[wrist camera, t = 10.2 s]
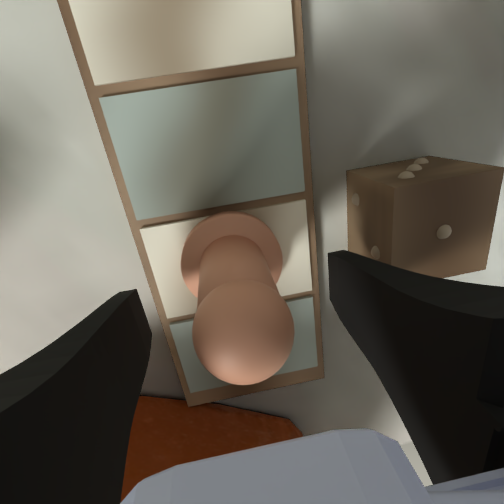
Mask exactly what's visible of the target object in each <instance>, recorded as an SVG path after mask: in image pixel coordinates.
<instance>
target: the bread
mask: <svg viewBox="0 0 504 504" xmlns="http://www.w3.org/2000/svg"><path fill="white" fill-rule="evenodd" d="M300 437H304V436H303V434H302V432H301V431H300V430H299V429H298V428H297V427H296V426H295V425H294V424H293V423H292V422H291V421H290V420H289V419H285V418H281V417H276V416H271V415H267V414H262V413H258V412H253V411H248V410H244V409H239V408H234V407H230V406H225V405H220V404H212V403H204V404H200V405H195V406H190V407H188V404H187V401H185V400H175V399H166V398H157V397H148V396H139V399H138V403H137V406H136V410H135V414H134V418H133V422H132V427H131V432H130V438H129V445H128V451H127V457H126V464H125V472H124V479H123V487H122V494H121V502H122V501H123V500H124V499H125V497H126V496H127V495H128V494H129V493H130V492H131V490H132V489H133V488H134V487H135V486H136V485H137V483H139V482H140V481H142V480H143V479H145V478H147V477H149V476H152V475H154V474H157V473H159V472H161V471H164V470H166V469H168V468H171V467H173V466H176V465H180V464H184V463H189V462H193V461H197V460H202V459H206V458H211V457H215V456H220V455H224V454H229V453H233V452H237V451H242V450H246V449H251V448H255V447H260V446H264V445H268V444H273V443H277V442H282V441H286V440H291V439H295V438H300Z"/></svg>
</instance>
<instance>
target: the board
mask: <svg viewBox="0 0 504 504" xmlns="http://www.w3.org/2000/svg"><path fill="white" fill-rule="evenodd" d="M57 2H58V5H59V8H60V11H61V14H62V17H63V21H64V24H65V27H66V30H67V33H68V36H69V39H70V42H71V45H72V48H73V52H74V55H75V58H76V61H77V64H78V67H79V70H80V73H81V76H82V79H83V82H84V86H85V89H86V92H87V95H88V98H89V101H90V104H91V107H92V110H93V113H94V117H95V120H96V123H97V126H98V129H99V132H100V135H101V138H102V141H103V144H104V147H105V151H106V154H107V157H108V160H109V163H110V166H111V169H112V172H113V175H114V178H115V181H116V185H117V188H118V191H119V194H120V197H121V200H122V203H123V206H124V209H125V212H126V216H127V219H128V222H129V225H130V228H131V231H132V234H133V237H134V240H135V243H136V246H137V250H138V253H139V256H140V259H141V262H142V265H143V268H144V271H145V274H146V277H147V281H148V284H149V287H150V290H151V293H152V296H153V299H154V302H155V305H156V308H157V311H158V315H159V318H160V321H161V324H162V327H163V330H164V333H165V336H166V339H167V342H168V345H169V349H170V352H171V355H172V358H173V361H174V364H175V367H176V370H177V373H178V376H179V380H180V383H181V386H182V389H183V392H184V395H185V398H186V401H187V404H188V407H190V406H195V405H200V404H204V403H209V402H214V401H218V400H223V399H228V398H233V397H237V396H242V395H247V394H251V393H256V392H261V391H265V390H270V389H275V388H279V387H284V386H289V385H293V384H298V383H303V382H307V381H312V380H317V379H321V378H324V363H323V347H322V331H321V315H320V299H319V283H318V267H317V251H316V235H315V219H314V203H313V187H312V172H311V156H310V140H309V124H308V108H307V92H306V76H305V60H304V44H303V28H302V12H301V0H57ZM226 211H238V212H244V213H247V214H250V215H253V216H255V217H257V218H258V219H260V220H261V221H263V222H264V223H265V224H266V225H267V226H268V227H269V228H270V229H271V231H272V232H273V234H274V236H275V237H276V239H277V241H278V243H279V245H280V248H281V251H282V256H283V265H282V271H281V275H280V277H279V280H278V282H277V283H276V286H277V289H278V291H279V293H280V296H281V297H282V298H283V299H284V300H285V302H286V303H287V305H288V307H289V309H290V311H291V314H292V317H293V321H294V331H295V334H294V342H293V346H292V350H291V352H290V355H289V357H288V358H287V360H286V362H285V363H284V365H283V366H282V367H281V368H280V369H279V370H278V371H277V372H276V373H275V374H274V375H272V376H271V377H269V378H268V379H266V380H264V381H261V382H259V383H255V384H250V385H236V384H231V383H228V382H225V381H222V380H220V379H218V378H217V377H215V376H214V375H213V374H211V373H210V372H209V371H208V370H207V369H206V368H205V367H204V366H203V364H202V363H201V362H200V360H199V358H198V356H197V354H196V351H195V349H194V345H193V339H192V326H193V320H194V317H195V313H196V311H197V300H198V298H197V297H195V296H194V295H193V294H192V293H191V292H190V290H189V289H188V287H187V286H186V284H185V282H184V280H183V277H182V273H181V255H182V251H183V246H184V243H185V241H186V238H187V236H188V235H189V233H190V232H191V230H192V229H193V228H194V227H195V226H196V225H197V224H198V223H199V222H201V221H202V220H203V219H205V218H207V217H209V216H211V215H214V214H216V213H220V212H226Z"/></svg>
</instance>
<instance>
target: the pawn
mask: <svg viewBox="0 0 504 504" xmlns="http://www.w3.org/2000/svg"><path fill="white" fill-rule="evenodd" d="M282 265H283V256H282V251H281V248H280V245H279V243H278V241H277V239H276V237H275V236H274V234H273V232H272V231H271V229H270V228H269V227H268V226H267V225H266V224H265V223H264V222H263V221H261V220H260V219H258V218H257V217H255V216H253V215H250V214H247V213H244V212H238V211H226V212H220V213H216V214H214V215H211V216H209V217H207V218H205V219H203V220H202V221H201V222H199V223H198V224H197V225H196V226H195V227H194V228H193V229H192V230H191V232H190V233H189V235H188V236H187V238H186V241H185V243H184V246H183V251H182V255H181V273H182V277H183V280H184V282H185V284H186V286H187V287H188V289H189V290H190V292H191V293H192V294H193V295H194V296H195V297H197V298H198V300H197V311H196V313H195V317H194V320H193V326H192V339H193V345H194V349H195V351H196V354H197V356H198V358H199V360H200V362H201V363H202V364H203V366H204V367H205V368H206V369H207V370H208V371H209V372H210V373H211V374H213V375H214V376H215V377H217V378H218V379H220V380H222V381H225V382H228V383H231V384H236V385H250V384H255V383H259V382H261V381H264V380H266V379H268V378H269V377H271V376H272V375H274V374H275V373H276V372H277V371H278V370H279V369H280V368H281V367H282V366H283V365H284V363H285V362H286V360H287V358H288V357H289V355H290V352H291V350H292V346H293V342H294V334H295V331H294V321H293V317H292V314H291V311H290V309H289V307H288V305H287V303H286V302H285V300H284V299H283V298H282V297H281V296H280V293H279V291H278V289H277V286H276V283H277V282H278V280H279V277H280V275H281V271H282Z"/></svg>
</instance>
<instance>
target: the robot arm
mask: <svg viewBox="0 0 504 504" xmlns="http://www.w3.org/2000/svg"><path fill="white" fill-rule="evenodd" d="M328 270H329V291H330V300H331V302H332V304H333V306H334V309H335V311H336V313H337V315H338V316H339V318H340V320H341V322H342V323H343V325H344V326H345V328H346V329H347V331H348V332H349V333H350V335H351V336H352V338H353V339H354V341H355V342H356V344H357V345H358V346H359V348H360V349H361V351H362V352H363V354H364V355H365V356H366V358H367V359H368V361H369V362H370V364H371V365H372V367H373V368H374V370H375V371H376V373H377V375H378V376H379V378H380V380H381V382H382V383H383V385H384V387H385V389H386V391H387V393H388V394H389V396H390V398H391V400H392V402H393V404H394V406H395V408H396V410H397V411H398V413H399V415H400V417H401V419H402V421H403V423H404V425H405V427H406V429H407V431H408V433H409V435H410V437H411V439H412V441H413V443H414V445H415V447H416V449H417V451H418V453H419V455H420V457H421V460H422V461H423V463H424V466H425V468H426V470H427V472H428V474H429V477H430V479H431V481H432V483H433V485H430V486H426V487H424V485H423V484H422V482H421V480H420V479H419V477H418V475H417V473H416V472H415V470H414V469H413V467H412V465H411V463H410V462H409V460H408V458H407V457H406V455H405V453H404V452H403V450H402V448H401V446H400V445H399V443H398V442H397V441H395V440H393V439H391V438H389V437H387V436H385V435H383V434H381V433H379V432H377V431H375V430H371V429H367V428H361V429H336V430H331V431H326V432H322V433H317V434H313V435H308V436H304V437H300V438H295V439H291V440H286V441H282V442H277V443H273V444H268V445H264V446H260V447H255V448H251V449H246V450H242V451H237V452H233V453H229V454H224V455H220V456H215V457H211V458H206V459H202V460H197V461H193V462H189V463H184V464H180V465H176V466H173V467H171V468H168V469H166V470H164V471H161V472H159V473H157V474H154V475H152V476H149V477H147V478H145V479H143V480H142V481H140V482H139V483H137V485H136V486H135V487H134V488H133V489H132V490H131V492H130V493H129V494H128V495H127V496H126V497H125V499H124V500H123V501H122V502H121V494H122V487H123V479H124V472H125V464H126V457H127V451H128V445H129V438H130V432H131V427H132V422H133V418H134V414H135V410H136V406H137V403H138V399H139V395H140V392H141V388H142V384H143V381H144V377H145V373H146V369H147V365H148V361H149V357H150V349H151V340H152V332H151V329H150V327H149V324H148V321H147V318H146V315H145V312H144V309H143V306H142V303H141V300H140V298H139V295H138V292H137V289H134V290H129V291H123V292H119V293H117V294H116V295H114V296H113V297H111V298H110V299H109V300H107V301H106V302H105V303H104V304H102V305H101V306H100V307H99V308H97V309H96V310H95V311H93V312H92V313H91V314H90V315H88V316H87V317H86V318H85V319H83V320H82V321H81V322H80V323H78V324H77V325H76V326H74V327H73V328H72V329H70V330H69V331H67V332H66V333H65V334H63V335H62V336H61V337H59V338H58V339H57V340H55V341H54V342H52V343H51V344H50V345H48V346H47V347H45V348H44V349H42V350H41V351H39V352H38V353H36V354H34V355H33V356H31V357H30V358H28V359H26V360H25V361H23V362H22V363H20V364H18V365H17V366H15V367H13V368H11V369H9V370H8V371H6V372H4V373H2V374H0V504H504V287H500V286H489V285H481V284H474V283H466V282H459V281H453V280H448V279H443V278H438V277H433V276H428V275H424V274H420V273H416V272H412V271H409V270H405V269H402V268H398V267H395V266H392V265H389V264H386V263H383V262H380V261H377V260H374V259H371V258H368V257H365V256H362V255H359V254H356V253H353V252H350V251H346V250H341V251H336V252H331V253H328Z"/></svg>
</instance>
